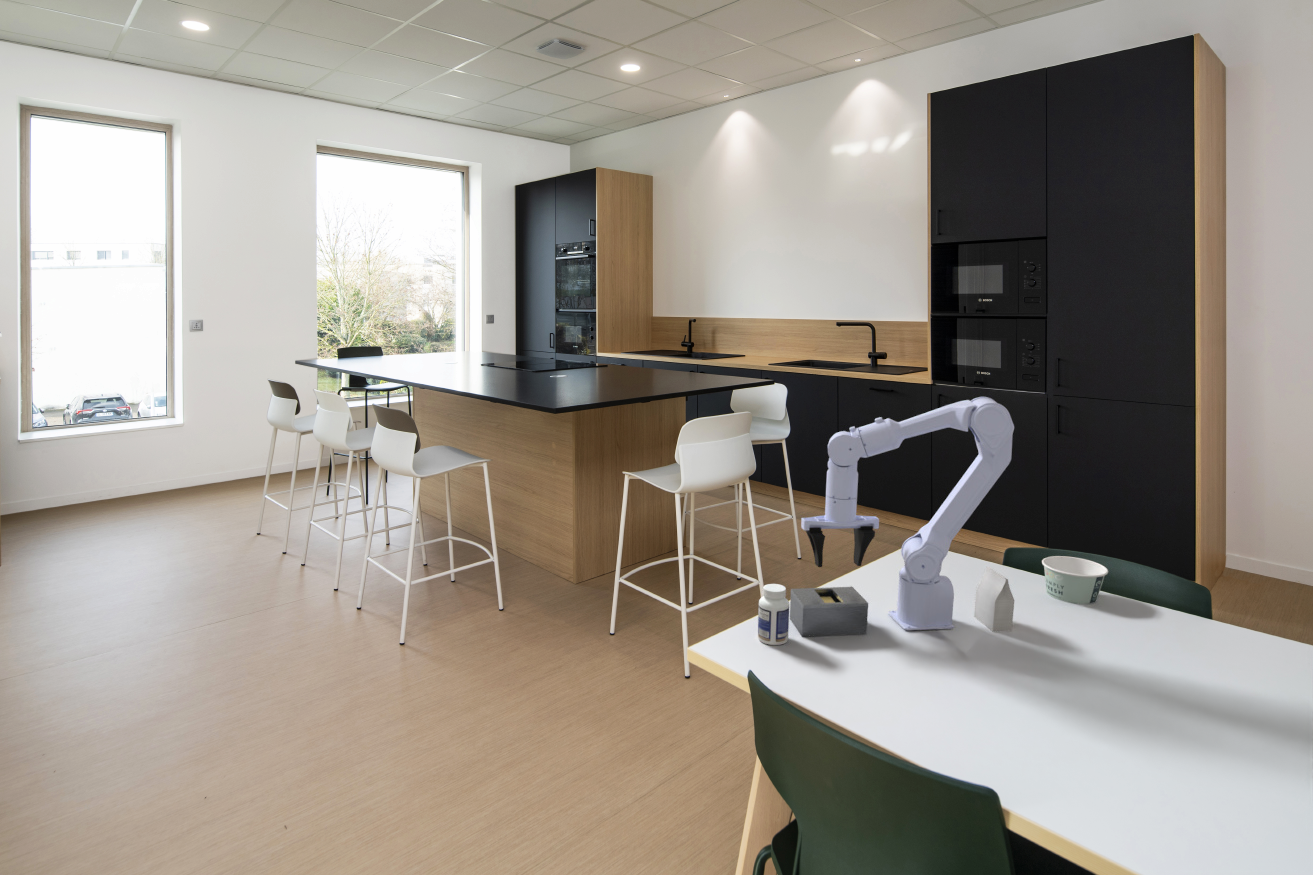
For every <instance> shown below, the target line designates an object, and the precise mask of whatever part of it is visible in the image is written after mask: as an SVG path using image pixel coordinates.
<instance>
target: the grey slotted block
mask: <svg viewBox="0 0 1313 875" xmlns="http://www.w3.org/2000/svg"><path fill="white" fill-rule="evenodd" d="M821 597H831V598H832V599H833V600H834V602H835V603H825V602H824V601H823V600H822V599H821ZM868 613H869V602H868V601H867V599H865V598H864V597H863V596H862V595H861V594H860V593H859V592H858V591H857V590H856V589H855V588H854V587H853V586H837V587H835V586H831V587H808V588H806V587H805V588H790V601H789V621H791V623H792V624H793V626H794V627H795V628H796V631H797V632H798V633H799V634H800V636H801V637H802V638H806V637H809V638H811V637H832V636H857V635H858V636H859V635H860V636H861V635H867V632H868Z"/></svg>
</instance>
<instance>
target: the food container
mask: <svg viewBox="0 0 1313 875" xmlns="http://www.w3.org/2000/svg"><path fill="white" fill-rule="evenodd" d="M1041 564H1042V566H1043V568H1044V570H1043V571H1044V580H1045V590H1046V594H1047V595H1048V596H1049V597H1051V598H1053V599H1055V600H1058V601H1061V602H1065V603H1070V604H1077V605H1090V604H1094V603H1096V602H1097V600H1098V598H1099V596H1100V592H1101V589H1102V586H1103V582H1104V579H1105V576H1106V575H1108V573H1109V569H1108V568H1107V567H1106V566H1104V565H1103V564H1101V563H1098V562H1096V561H1093V560H1089V559H1086V558H1081V557H1073V556H1064V555H1063V556H1061V555H1055V556H1054V555H1052V556H1048V557H1045V558H1043V559H1042V560H1041Z"/></svg>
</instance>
